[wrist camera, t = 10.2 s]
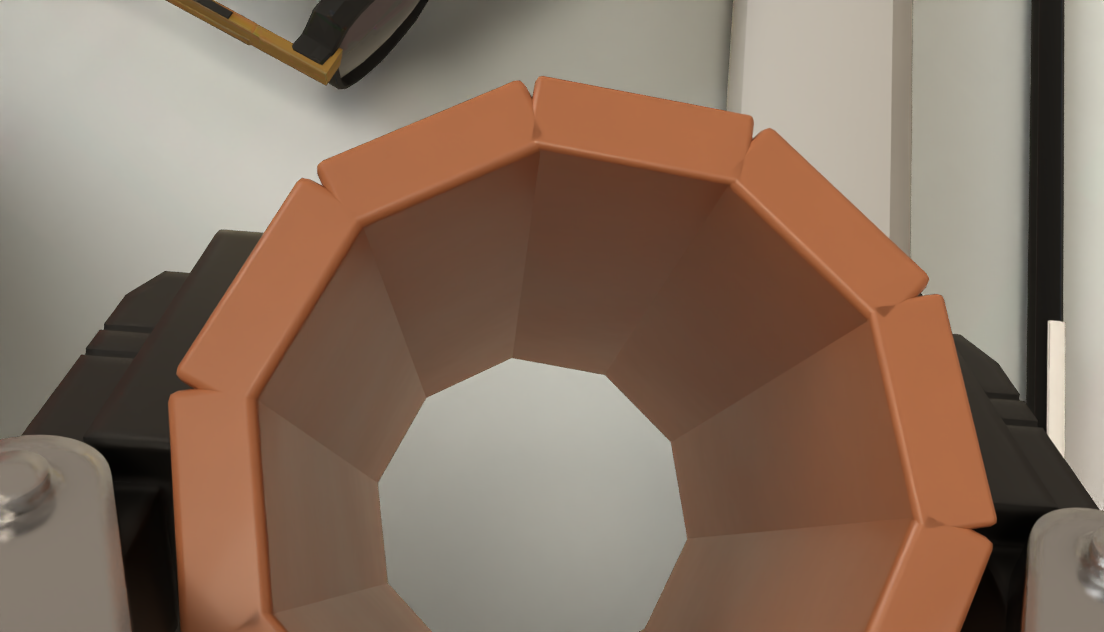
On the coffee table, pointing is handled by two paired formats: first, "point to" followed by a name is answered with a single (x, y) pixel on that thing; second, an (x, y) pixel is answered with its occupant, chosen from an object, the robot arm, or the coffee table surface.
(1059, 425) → the pen
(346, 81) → the sunglasses
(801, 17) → the tube
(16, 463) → the robot arm
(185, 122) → the coffee table surface
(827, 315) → the sleeve
